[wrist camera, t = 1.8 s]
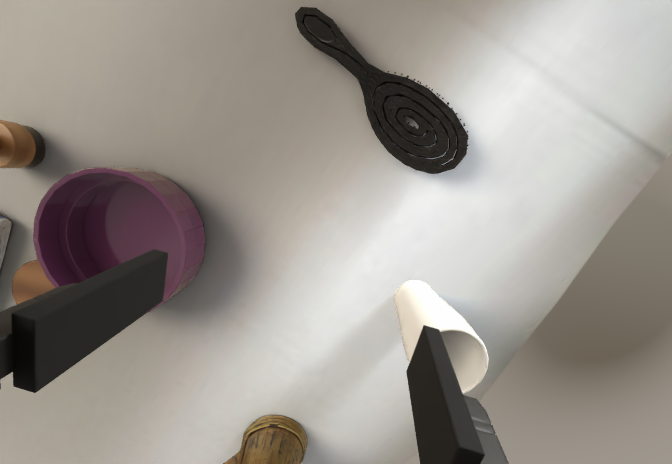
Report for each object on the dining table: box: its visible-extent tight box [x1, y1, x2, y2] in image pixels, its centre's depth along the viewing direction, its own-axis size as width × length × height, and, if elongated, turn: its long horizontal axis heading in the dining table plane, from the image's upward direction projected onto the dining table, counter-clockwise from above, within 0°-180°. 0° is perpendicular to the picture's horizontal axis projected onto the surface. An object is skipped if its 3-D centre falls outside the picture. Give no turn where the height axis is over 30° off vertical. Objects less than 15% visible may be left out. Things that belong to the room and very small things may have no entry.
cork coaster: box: [12, 260, 55, 304], centre depth 43 cm, size 9×9×1 cm
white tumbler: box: [394, 280, 488, 394], centre depth 35 cm, size 7×7×15 cm
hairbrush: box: [295, 7, 468, 174], centre depth 37 cm, size 8×4×25 cm
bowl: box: [33, 167, 206, 312], centre depth 39 cm, size 17×17×6 cm
